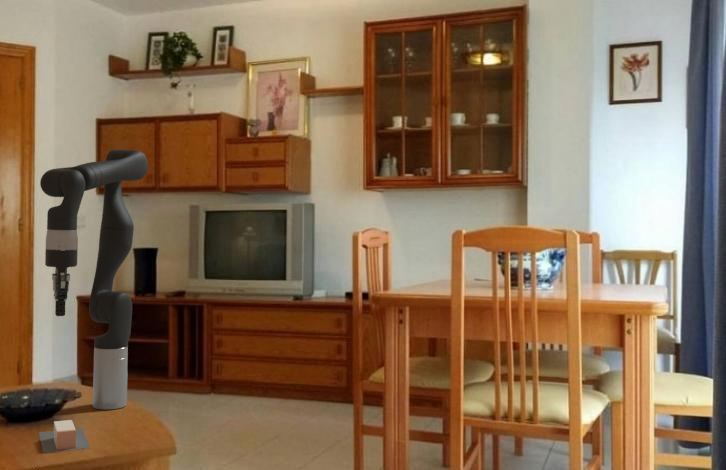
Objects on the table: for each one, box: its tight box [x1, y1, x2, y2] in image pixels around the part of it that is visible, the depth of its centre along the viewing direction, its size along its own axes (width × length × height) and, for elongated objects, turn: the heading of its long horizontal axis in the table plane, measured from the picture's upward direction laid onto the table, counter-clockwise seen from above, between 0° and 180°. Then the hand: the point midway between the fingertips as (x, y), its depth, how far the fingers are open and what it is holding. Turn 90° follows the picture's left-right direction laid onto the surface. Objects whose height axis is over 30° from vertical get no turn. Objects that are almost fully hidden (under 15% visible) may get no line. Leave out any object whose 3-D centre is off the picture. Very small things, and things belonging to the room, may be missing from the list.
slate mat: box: [38, 427, 91, 454], centre depth 169 cm, size 18×10×1 cm, turn 28°
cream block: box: [53, 419, 77, 450], centre depth 167 cm, size 4×4×10 cm
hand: (60, 315), depth 180 cm, fingers closed
